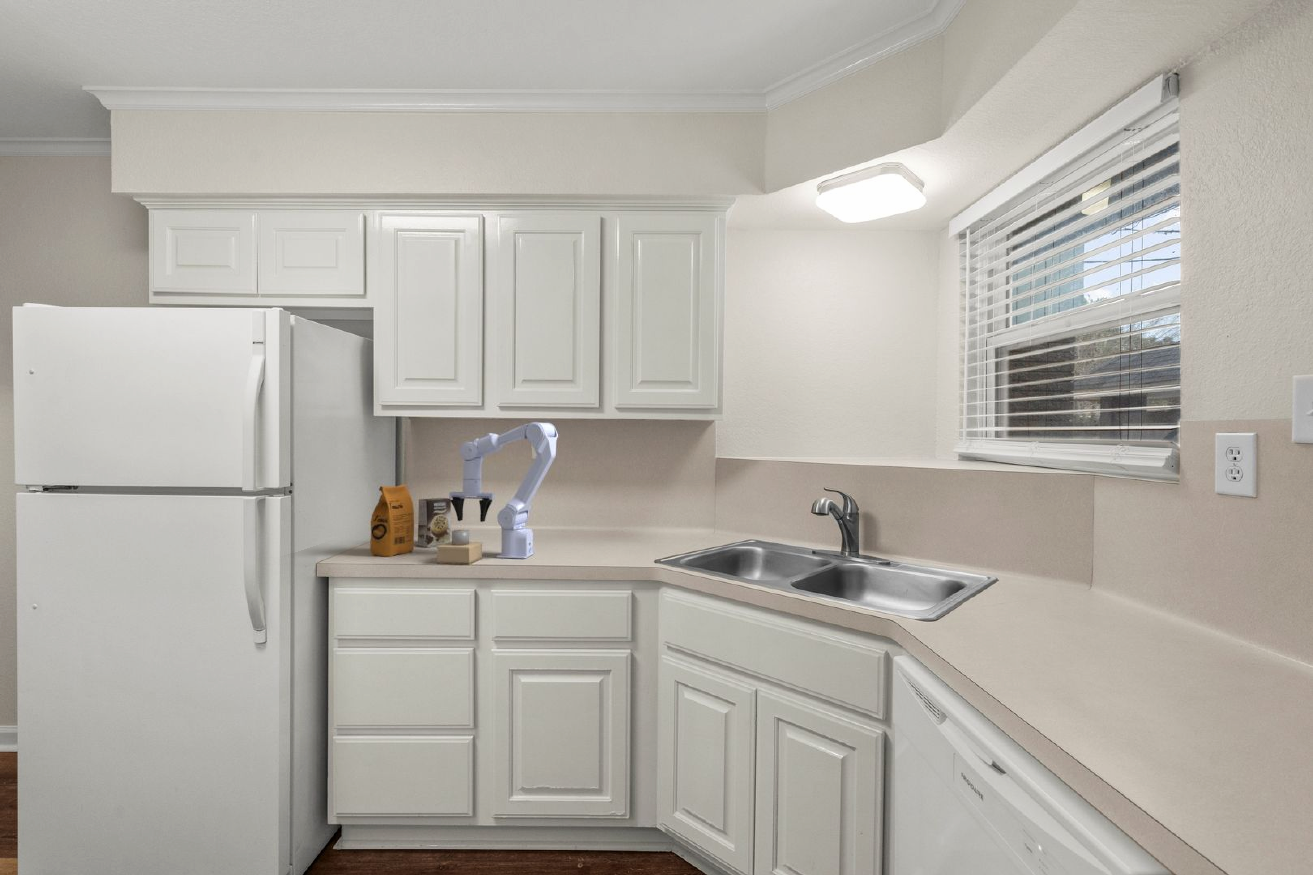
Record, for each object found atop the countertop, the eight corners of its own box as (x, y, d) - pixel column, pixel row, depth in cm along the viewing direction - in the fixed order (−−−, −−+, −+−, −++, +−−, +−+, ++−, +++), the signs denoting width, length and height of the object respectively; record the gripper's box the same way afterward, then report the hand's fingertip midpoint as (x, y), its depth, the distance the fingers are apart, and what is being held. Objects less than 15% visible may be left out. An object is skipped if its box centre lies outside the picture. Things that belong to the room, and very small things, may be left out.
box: (481, 558, 187) (482, 544, 187) (469, 564, 178) (469, 549, 178) (451, 557, 188) (451, 543, 188) (437, 563, 179) (437, 548, 179)
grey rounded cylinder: (470, 542, 186) (470, 529, 186) (467, 545, 181) (467, 532, 181) (453, 542, 185) (453, 529, 185) (450, 545, 180) (450, 532, 180)
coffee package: (364, 555, 190) (365, 486, 190) (395, 548, 202) (395, 483, 202) (388, 557, 187) (389, 487, 187) (418, 551, 198) (418, 484, 198)
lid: (482, 543, 187) (482, 542, 187) (469, 549, 178) (469, 547, 177) (451, 542, 188) (451, 541, 188) (436, 548, 179) (436, 546, 179)
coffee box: (427, 547, 204) (428, 500, 204) (417, 545, 208) (417, 499, 208) (451, 544, 211) (451, 498, 211) (440, 542, 215) (441, 497, 215)
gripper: (445, 479, 192) (444, 521, 192) (488, 480, 190) (488, 523, 190) (455, 477, 199) (454, 518, 199) (497, 479, 197) (496, 520, 197)
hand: (471, 521), depth 195 cm, fingers open, 7 cm apart
